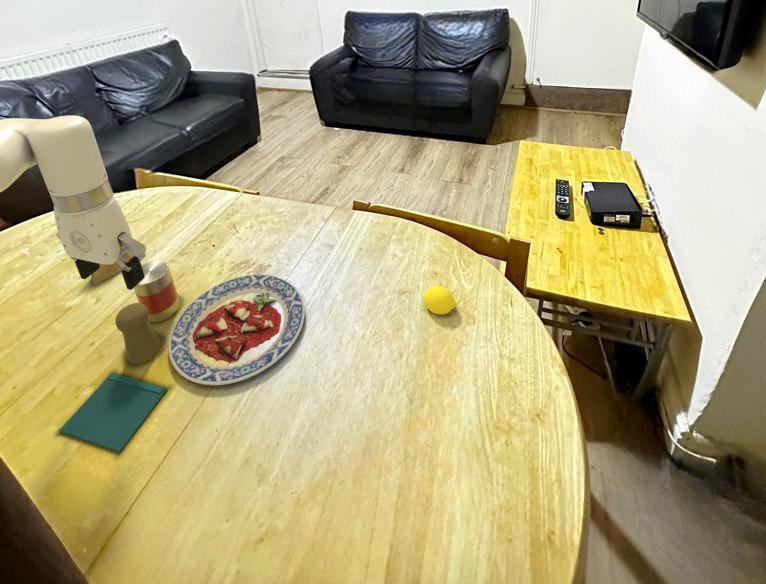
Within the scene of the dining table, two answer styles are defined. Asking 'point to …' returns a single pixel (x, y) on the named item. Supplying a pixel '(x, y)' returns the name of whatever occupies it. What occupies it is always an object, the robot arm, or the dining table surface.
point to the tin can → (157, 291)
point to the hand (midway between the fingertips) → (113, 278)
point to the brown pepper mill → (138, 333)
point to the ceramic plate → (235, 329)
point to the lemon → (439, 300)
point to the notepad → (114, 412)
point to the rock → (109, 269)
